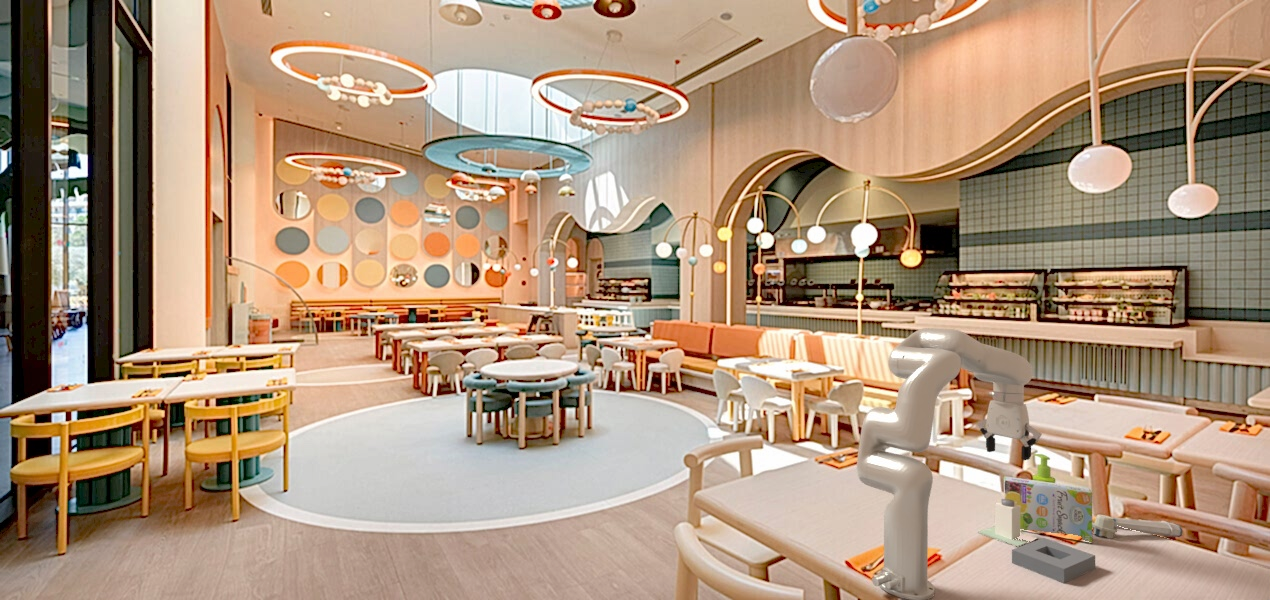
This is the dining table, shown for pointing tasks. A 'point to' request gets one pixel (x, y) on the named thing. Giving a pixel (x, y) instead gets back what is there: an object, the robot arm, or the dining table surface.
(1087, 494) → the snack box
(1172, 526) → the hair straightener
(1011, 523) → the plug
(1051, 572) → the grey rectangular frame block
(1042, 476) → the soap dispenser
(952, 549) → the dining table surface
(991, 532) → the mat
